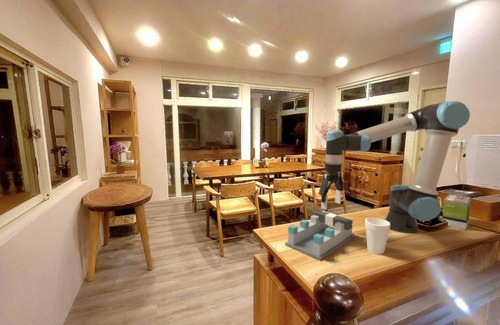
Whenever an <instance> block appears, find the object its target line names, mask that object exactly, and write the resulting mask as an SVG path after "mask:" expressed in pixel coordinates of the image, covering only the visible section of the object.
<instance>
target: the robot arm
mask: <svg viewBox="0 0 500 325" xmlns="http://www.w3.org/2000/svg"><path fill="white" fill-rule="evenodd" d="M470 113H471V112H470V110H469V108H468V107H467V105H466V104H465V103H463V102H461V101H458V100H457V101H456V100H453V101H448V100H447V101H443V102H439V103H434V104H433V103H432V104H429V105H426V106H424V107H420V108H419V109H416V110H413V111H411V112H408V113H406V114H405V115H404V116H402V117H399V118H396V119H393V120H390V121H386V122H384V123H380V124H377V125H374V126H371V127H368V128H365V129H362V130H359V131H356V132H353V133H349V134H344V131H342V130H329V131H327V133H326V141H325V156H324V158H325V160H324V161H325V163H324V164H325V165H324V171H325V172H326V174H325V173H324V174H323V175H322V180H321V184H320V186H319V191H318V195H319V196H320V197H321V202H320V203H321V204H320V209H323V210H327V209H328V198H329V196H328V193H329V191H330V188H331V186H332V185H333V184H334V186H335V189H336V190H335V196H334V198H335V199H334V203H335V204H339V205H340V204H342V192H344V191H345V189H344V188H345V185H344V180H343V174H342V173H343V172H342V167H343V166H342V162H343V152H360V153H362V152H367V151H369V150H370V148H371V146H372V144H371V143H374V142H377V141H381V140H383V139H387V138H390V137H393V136H397V135H399V134H403V133H407V132H416V131H419V130H420V131H421V130H424V132H425V133H426V134H427V137H426V139H425V142H424V147H423V149H422V153H421V157H420V160H419V163H418V166H417V170H416V173H415V177H414V180H413V184H412V185H408V184H394V185H391V186H390V190H389V204H388V205H389V207H388V213H387V214H386V217H385V219H384V220H386V221H388V222H390V230H393V231H395V232H399V233H406V234H414V233H417V232H418V231H419V224H418V221H417V220H419V221H423V222H427V221H431V220H434V219H435V218H437V217H438V216H439V215H440V213H441V210H442V207H441V204H440V202H439V200H438V199H439V194H440V193H439V192H438V191H437V186H438V185H439V184H438V183H439V180H440V178H441V173H442V172H443V167H444V164H445V161H446V157H447V155H448V154H447V153H448V150H449V147H450V144H451V141H452V139H453V138H454V137H456V136H457V135H459V134H458V133H459V130H460V128H463V127H464V126H465V125H467V123H468V122H469V120H470V116H471V114H470Z"/></svg>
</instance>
